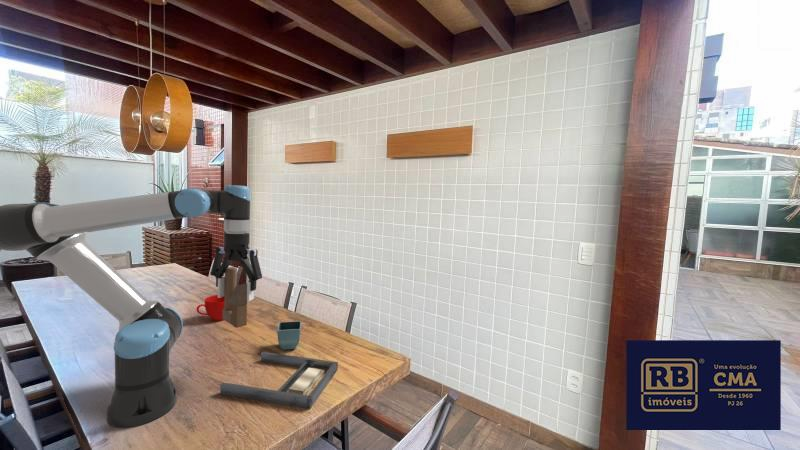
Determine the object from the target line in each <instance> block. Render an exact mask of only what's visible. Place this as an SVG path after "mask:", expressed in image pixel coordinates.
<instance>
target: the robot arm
mask: <svg viewBox="0 0 800 450" xmlns="http://www.w3.org/2000/svg"><path fill="white" fill-rule="evenodd" d="M250 211H251V189H250V188H249V186H246V185H233V184H226V185H225V186H224V189H223V190H214V189H199V188H192V187H191V188H183V189H181V190H175V191H166V192H159V193H157V192H156V193H149V194H143V195H142V194H141V195H133V196H127V197H126V196H125V197H118V198H109V199H102V200H96V201H86V202H77V203H71V204H70V203H69V204H63V205H62V204H61V205H60V204H56V203H50V202H45V201H39V202H31V203H12V204H11V203H9V204H3V205H0V250H2V251H7V252H9V251H10V252H11V251H12V252H17V251H19V252H20V251H26V252H28V253H29V254H30V255H31V256H33V258H35V259H36V260H37V261H48V262H50V263H51V264H52V265H54V266H55V267H56V268H57V269H58V270H59V271H60V272H62V274H64V275H65V276H66V277H67V278H69V279H70V280H71V282H73V284H75V285H76V286H78V287H79V288H80V289H81V290H82V291H83V292H84V293H86V294H87V295H88V296H90V298H92V299H93V300H94V301H95V302H97V304H98V305H100V306H101V307H102V308H103V309H104V310H106V312H107V313H109V314H110V315H111V316H112V317H113V318H115V319H116V320H117V321H118V322H119V326H118V332H117V333H116V334H115V337H114V341H113V351H114V386H115V387H114V391H113V394H112V396H111V401H110V404H109V405H108V407H107V409H106V422H107V424H108V425H110V426H111V427H114V428H130V427H136V426H141V425H144V424H147V423H149V422H152V421H155V420H157V419H159V418H161V417H162V416H164V415H166V414H168V413H169V412H170V411H171V410H172V409H173V408H174V407H175V405H176V404H177V397H178V396H177V395H178V394H177V390H176V388H175V387H174V386H175V385H174V383H173V381H172V379H171V377H170V352H171V350H172V349H173V346H174V345H175V343H176V342H177V341H178V339H179V338H180V336H181V334H182V330H183V324H184V323H183V317H182V316H181V314H180V313H179V312H178V311H177V310H175V308H171V307H165V306H163V304H161V303H160V302H159V301H158V300H149V299H147V298H146V297H145V296H144V295H143V294H142V293H141V292H140V291H139V290H138V289H137V288H136V287H134V286H133V285H132V284H131V283H130V282H129V281H128V280H127V279H126V278H125V277H124V276H122V274H121V273H120V272H118V271H117V270H116V268H114V267H113V266H112V265H111V264H110V263H109V262H107V260H105V259H104V258H103V257H102V256H101V255H100V254H99V253H98V252H97V251H96V250H95V249H93V247H92V246H91V245H89V243H87V242H86V233H93V232H99V231H106V230H112V229H113V230H114V229H118V228H119V229H121V228H126V227H132V226H133V227H134V226H137V225H138V226H139V225H145V224H151V223H158V222H163V221H171V220H177V219H185V218H196V217H201V216H203V215H204V214H206V215H207V214H211V215H213V214H214V215H215V214H216V215H224V218H223V221H224V222H223V231H224V233H223V244H224V246H217V247H215V256H214V259H213V263H212V267H211V270H210V276H212V277H215V286H216V288H217V295H218V298H221V297H223V296H225V269H226V268H228V267H229V266H230V265H231V263H232V261H235V262H239V264H241V266H242V268H243V270H244V272H245V274H246V276H247V278H248V281H246V284H247V302H251V301H252V300H254V299H255V291H256V289H257V281H258V280H261V279H262V278H263V274H262V270H261V269H262V268H261V265H260V262H259V261H260V260H259V257H258V252H259V251H258V249H257V248H256V249H250V248H249V244H250V233H249V232H250V227H251V226H250V221H251V220H250V217H251V216H250V215H251V212H250ZM224 255H225V256H224Z"/></svg>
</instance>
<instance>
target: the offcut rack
mask: <svg viewBox="0 0 800 450" xmlns="http://www.w3.org/2000/svg"><path fill="white" fill-rule="evenodd" d="M260 362H263V363H265V362H266V363H271V364H276V365H286V366H291V367H298V369H296V371H295V372H294V373H293V374H292V375H291V376H290V377H289V378H288V379H287V380H286V381H285V382H284V383H283V384H282V385H281V386H280V388H279V389H277V390H275V389H274V390H273V389H269V388H263V387H262V388H261V387H255V386H248V385H243V384H242V385H241V384H236V383H235V384H234V383H229V382H221V384H219V385H220V387H219V390H220V391H219V394H220V395H224V396H230V397H237V398H243V399H249V400H255V401H262V402H266V403H267V402H268V403H274V404H278V405H279V404H280V405H286V406H289V407H290V406H292V407H297V408H303V409H310V410H311V409H312V408H313V406H314V404H315V403H316V402H317V400H318V398H319V397H320V396H321V395H322V393H323V392H324V390H325V389H326V388H327V386H328V384H329V383H330V382H331V380H332V379H333V377H334V376H335V374H336V373H337V372H338V368H339V367H338V365H339V362H338V361H333V360H324V359H319V358H310V357H304V356H303V357H302V356H295V355H290V354H289V355H287V354H281V353H274V352H267V351H262V352H261V353H260ZM308 368H315V369H321V370H325V373H324V374H323V375H322V377H321V378H320V379H319V381H318V382H317V383H316V384H315V386H314V387H313V388H312V390H311V391H310V392H309V393H310V394H309V395H308V394H307V395H300V394H294V393H289V388H290V387H291V386H292V385H293V384H294V383H295V382H296V381H297V380H298V378H299V377H300V376H301V375H302V374H303V373H304V372H305V371H306V370H307V369H308Z"/></svg>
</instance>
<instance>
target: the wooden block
mask: <svg viewBox="0 0 800 450" xmlns="http://www.w3.org/2000/svg"><path fill="white" fill-rule="evenodd" d="M237 274H238V268H237V267H234V266H230V267H229V266H228V268H226V269H225V273H224V277H225V309H223V319H224V320H223V321H225V322H227V323H229V324H230V325H231V326H233V327H234V328H236V329H237V328H241V327H245V326H247V325H248V324H247V323H248V321H247V320H248V317H247V316H248V301H247V283H242V284H238V283H237V281H238V277H237V276H238V275H237Z"/></svg>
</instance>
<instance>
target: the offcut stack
mask: <svg viewBox="0 0 800 450" xmlns="http://www.w3.org/2000/svg"><path fill="white" fill-rule="evenodd" d="M325 374H326V370H321V369H315V368H308V369H307V370H306V371H305V372H304V373H303V374H302V375H301V376H300V377H299V378H298V380H297V381H296V382H295V383H294V384H293V385H292V386H291V387H290V388H289V390H288V393H294V394H300V395H307V396H308V394H309V393H311V391H312V390H313V389H314V388H315V386H316V385H317V384H318V383H319V381H320V380H321V379H322V378H323V376H324V375H325Z"/></svg>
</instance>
